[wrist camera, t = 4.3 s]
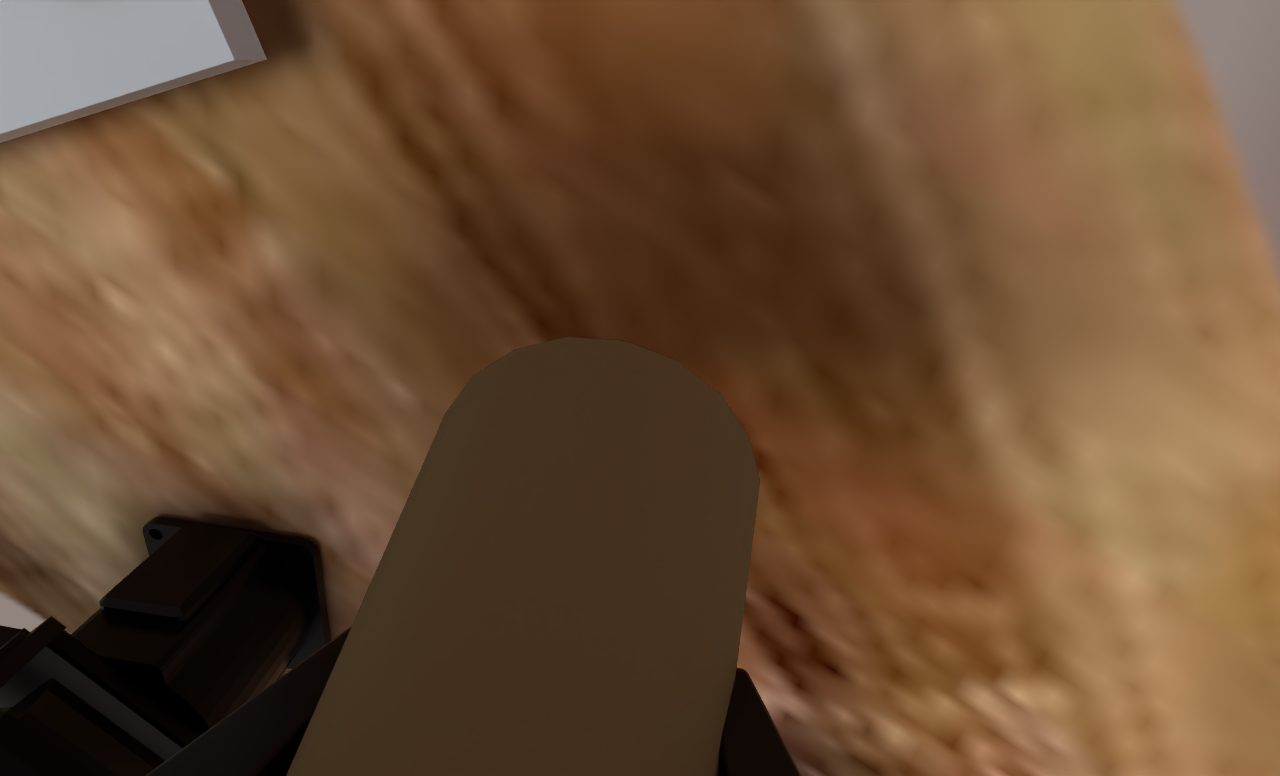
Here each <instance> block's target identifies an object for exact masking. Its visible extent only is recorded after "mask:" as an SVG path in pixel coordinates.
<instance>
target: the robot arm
mask: <svg viewBox="0 0 1280 776" xmlns="http://www.w3.org/2000/svg"><path fill="white" fill-rule="evenodd" d="M143 534H144V538H145V542H146V545H147V549H148V553H149V557H148V558H147V559H146V560H144V561H143V562H142V563H141V564H140V565H139V566H138V567H137V568H135V569H134V570H133V571H132V572H131V573H130V574H129V575H128V576H126V577H125V578H124V579H123V580H122V581H121V582H120V583H119V584H117V585H116V586H115V587H114V588H113V589H112V590H111V591H109V592H108V593H107V594H106V595H105V596H104V597H103V598H102V599H101V600H100V602H99V603H100V607H101V608H100V609H99V610H98V611H97V612H96V613H95V614H93V615H92V616H91V617H90V618H89V619H88V620H87V621H86V622H85V623H83V624H82V625H81V626H80V627H79V628H78V629H77V630H76V631H75V632H73V633H72V634H71V635H70V634H69V633H68V632H66V631H65V630H64V629H65V628H66V626H65V625H63V624H62V623H61V622H59V621H58V620H57V619H55V618H54V617H53V616H51V617H49V618H48V619H47V620H45V621H44V622H43V623H42V624H40V625H39V626H38V627H37V628H35V629H34V630H33V631H31V632H29V631H28V630H26V629H25V628H23V629H16V628H11V627H5V626H0V776H286V775H287V773H288V770H289V768H290V766H291V764H292V761H293V759H294V757H295V755H296V752H297V750H298V748H299V745H300V743H301V741H302V739H303V736H304V734H305V732H306V730H307V727H308V725H309V723H310V720H311V718H312V716H313V714H314V711H315V709H316V707H317V704H318V702H319V700H320V698H321V695H322V693H323V691H324V689H325V686H326V684H327V682H328V679H329V677H330V675H331V673H332V670H333V668H334V666H335V663H336V661H337V659H338V657H339V654H340V652H341V650H342V648H343V645H344V643H345V641H346V638H347V636H348V634H349V632H350V629H351V627H352V626H351V627H350V628H348V629H347V630H345V631H344V632H343V633H341V634H340V635H339V636H337V637H336V638H334V639H333V640H332V641H331V640H330V632H329V624H328V617H327V609H326V601H325V594H324V586H323V578H322V571H321V563H320V555H319V550H318V547H317V545H316V544H315V543H314V542H312V541H311V540H309V539H306V538H300V537H293V536H287V535H280V534H273V533H267V532H260V531H253V530H246V529H240V528H233V527H226V526H219V525H213V524H206V523H199V522H192V521H186V520H179V519H172V518H165V517H155V518H153V519H152V520H150V521H149V522H148V523H147V524H146V525H145V526H144V527H143ZM301 551H303V552H304V553H305V554H304V553H302V552H301ZM287 668H292V670H290V671H289V672H288V673H286V674H285V675H283V676H282V674H283V673H284V671H285V670H286V669H287ZM281 676H282V677H281ZM280 677H281V678H280ZM719 776H801V774H800V772H799V770H798V768H797V766H796V764H795V763H794V761H793V759H792V757H791V755H790V753H789V751H788V749H787V747H786V745H785V743H784V741H783V739H782V738H781V736H780V734H779V732H778V730H777V728H776V726H775V724H774V722H773V720H772V718H771V716H770V714H769V713H768V711H767V709H766V707H765V705H764V703H763V701H762V699H761V697H760V695H759V693H758V691H757V689H756V688H755V686H754V684H753V682H752V680H751V678H750V676H749V674H748V673H747V672H746V671H745V670H744V669H741V668H736V675H735V681H734V685H733V689H732V693H731V698H730V702H729V706H728V710H727V715H726V719H725V723H724V727H723V732H722V737H721V743H720V749H719Z"/></svg>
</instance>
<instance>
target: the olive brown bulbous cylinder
mask: <svg viewBox="0 0 1280 776" xmlns="http://www.w3.org/2000/svg"><path fill="white" fill-rule="evenodd" d="M759 486H760V478H759V474H758V470H757V466H756V462H755V458H754V454H753V450H752V447H751V443H750V439H749V435H748V434H747V432H746V431H745V429H744V428H743V426H742V425H741V423H740V422H739V421H738V419H737V418H736V416H735V415H734V413H733V412H732V410H731V409H730V407H729V406H728V404H727V403H726V402H725V400H724V399H723V397H722V396H721V394H720V393H719V392H717V391H716V390H715V389H713V388H712V387H711V386H710V385H708V384H707V383H706V382H704V381H703V380H702V379H700V378H699V377H698V376H696V375H695V374H694V373H693V372H691V371H690V370H689V369H687V368H686V367H685V366H683V365H682V364H681V363H679V362H678V361H677V360H674V359H672V358H669V357H666V356H664V355H661V354H658V353H655V352H653V351H650V350H647V349H645V348H642V347H639V346H637V345H634V344H631V343H629V342H626V341H623V340H608V339H592V338H576V337H564V338H560V339H556V340H552V341H548V342H544V343H540V344H535V345H531V346H527V347H523V348H519V349H515V350H513V351H511V352H510V353H508V354H507V355H505V356H504V357H502V358H501V359H499V360H497V361H496V362H494V363H493V364H491V365H490V366H488V367H487V368H485V369H483V370H482V371H480V372H479V373H477V374H476V375H474V376H473V377H472V378H471V379H470V381H469V382H468V383H467V385H466V386H465V387H464V389H463V390H462V391H461V393H460V394H459V396H458V397H457V398H456V400H455V401H454V402H453V404H452V405H451V406H450V408H449V409H448V410H447V412H446V413H445V415H444V418H443V420H442V422H441V424H440V427H439V429H438V431H437V434H436V436H435V438H434V440H433V443H432V445H431V447H430V449H429V452H428V454H427V456H426V459H425V461H424V463H423V465H422V468H421V470H420V472H419V474H418V477H417V479H416V481H415V484H414V486H413V488H412V490H411V493H410V495H409V497H408V500H407V502H406V504H405V506H404V509H403V511H402V513H401V515H400V518H399V520H398V522H397V525H396V527H395V529H394V531H393V534H392V536H391V538H390V541H389V543H388V545H387V547H386V550H385V552H384V554H383V556H382V559H381V561H380V563H379V566H378V568H377V570H376V572H375V575H374V577H373V579H372V582H371V584H370V586H369V588H368V591H367V593H366V595H365V597H364V600H363V602H362V604H361V607H360V609H359V611H358V613H357V616H356V618H355V620H354V622H353V625H352V627H351V629H350V632H349V634H348V636H347V638H346V641H345V643H344V645H343V648H342V650H341V652H340V654H339V657H338V659H337V661H336V663H335V666H334V668H333V670H332V673H331V675H330V677H329V679H328V682H327V684H326V686H325V689H324V691H323V693H322V695H321V698H320V700H319V702H318V704H317V707H316V709H315V711H314V714H313V716H312V718H311V720H310V723H309V725H308V727H307V730H306V732H305V734H304V736H303V739H302V741H301V743H300V745H299V748H298V750H297V752H296V755H295V757H294V759H293V761H292V764H291V766H290V768H289V770H288V773H287V775H286V776H719V749H720V743H721V737H722V732H723V727H724V723H725V719H726V715H727V710H728V706H729V702H730V698H731V693H732V689H733V685H734V681H735V675H736V668H737V660H738V652H739V644H740V636H741V628H742V620H743V612H744V604H745V597H746V589H747V581H748V573H749V565H750V557H751V549H752V541H753V533H754V525H755V517H756V509H757V501H758V493H759Z"/></svg>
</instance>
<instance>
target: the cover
mask: <svg viewBox="0 0 1280 776" xmlns="http://www.w3.org/2000/svg"><path fill="white" fill-rule="evenodd" d="M264 60H267V58H266V56H265V53H264V51H263V49H262V46H261V44H260V42H259V39H258V37H257V35H256V32H255V30H254V27H253V25H252V23H251V20H250V18H249V16H248V13H247V11H246V9H245V6H244V4H243V2H242V0H0V143H2V142H5V141H8V140H12V139H15V138H18V137H21V136H24V135H27V134H31V133H34V132H37V131H40V130H43V129H47V128H50V127H53V126H56V125H59V124H63V123H66V122H69V121H72V120H75V119H79V118H82V117H85V116H88V115H91V114H95V113H98V112H101V111H104V110H107V109H111V108H114V107H117V106H120V105H123V104H126V103H130V102H133V101H136V100H139V99H142V98H146V97H149V96H152V95H155V94H158V93H162V92H165V91H168V90H171V89H174V88H178V87H181V86H184V85H187V84H190V83H194V82H197V81H200V80H203V79H206V78H210V77H213V76H216V75H219V74H222V73H225V72H229V71H232V70H235V69H238V68H241V67H245V66H248V65H251V64H254V63H257V62H261V61H264Z"/></svg>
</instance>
